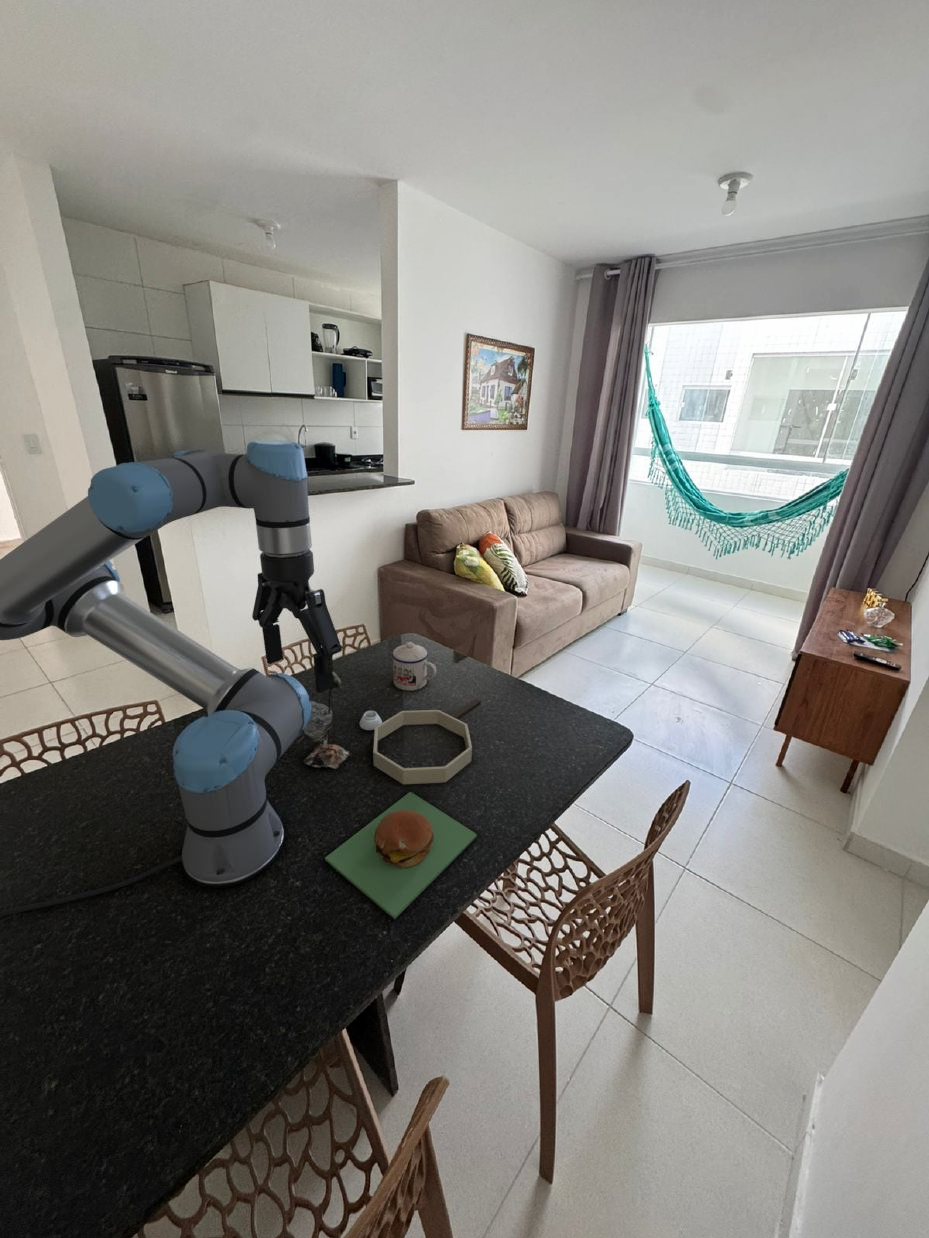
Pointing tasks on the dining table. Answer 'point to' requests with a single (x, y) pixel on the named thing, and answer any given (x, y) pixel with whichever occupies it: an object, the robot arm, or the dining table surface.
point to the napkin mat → (389, 880)
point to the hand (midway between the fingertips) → (298, 674)
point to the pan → (425, 718)
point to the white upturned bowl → (370, 720)
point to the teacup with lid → (411, 667)
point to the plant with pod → (323, 734)
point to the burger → (403, 838)
